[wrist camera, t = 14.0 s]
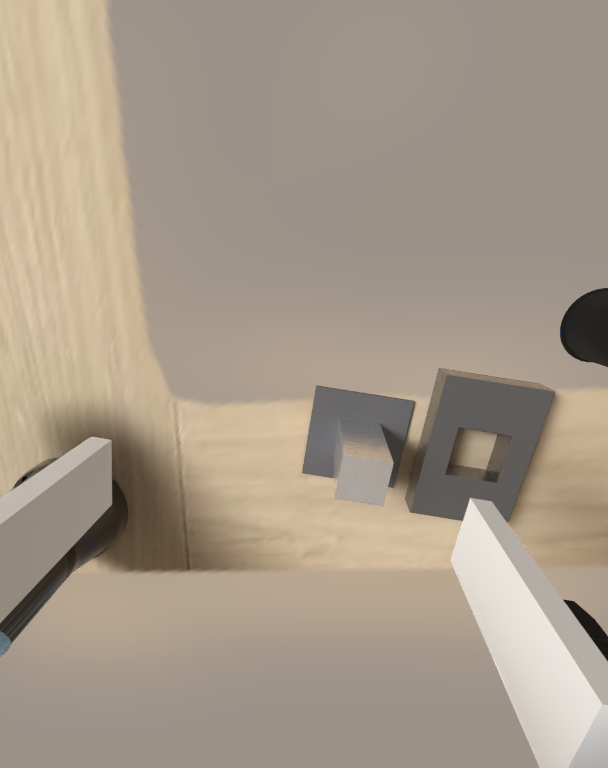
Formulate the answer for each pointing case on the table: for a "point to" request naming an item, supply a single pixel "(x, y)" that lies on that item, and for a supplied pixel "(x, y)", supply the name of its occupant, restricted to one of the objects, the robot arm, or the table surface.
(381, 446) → the rectangular peg block
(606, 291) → the aerosol can
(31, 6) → the table surface
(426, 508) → the square hole plate
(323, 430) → the rubber pad
